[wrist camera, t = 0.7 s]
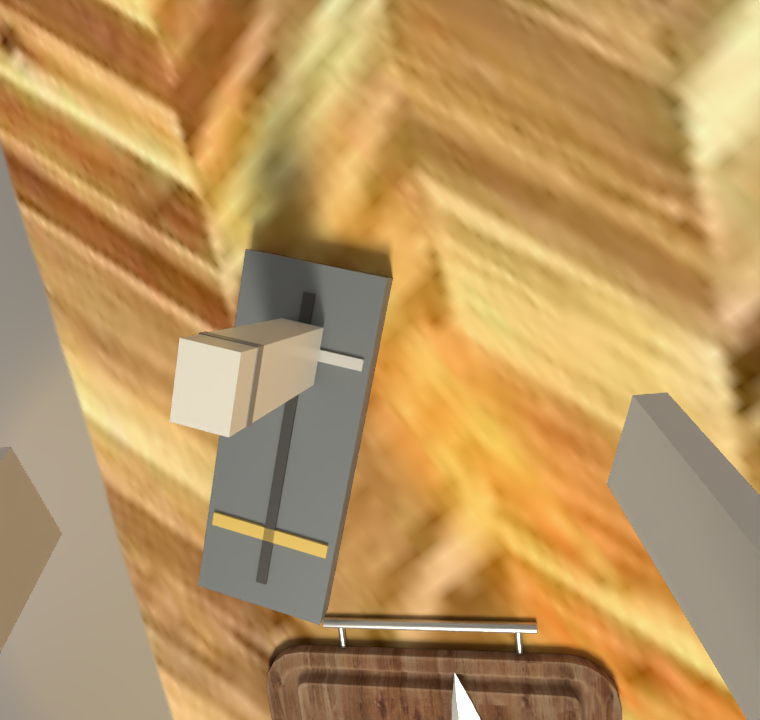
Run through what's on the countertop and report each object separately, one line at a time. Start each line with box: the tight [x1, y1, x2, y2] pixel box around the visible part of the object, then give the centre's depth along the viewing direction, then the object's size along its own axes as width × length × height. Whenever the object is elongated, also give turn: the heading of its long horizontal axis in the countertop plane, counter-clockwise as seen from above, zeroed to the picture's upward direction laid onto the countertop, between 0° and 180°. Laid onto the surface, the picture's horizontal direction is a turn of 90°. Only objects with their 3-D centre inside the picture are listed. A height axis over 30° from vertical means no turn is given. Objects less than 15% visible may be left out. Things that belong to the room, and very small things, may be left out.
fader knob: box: [170, 318, 324, 437], centre depth 29 cm, size 4×3×12 cm
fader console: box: [198, 249, 393, 625], centre depth 38 cm, size 26×10×2 cm, turn 169°
